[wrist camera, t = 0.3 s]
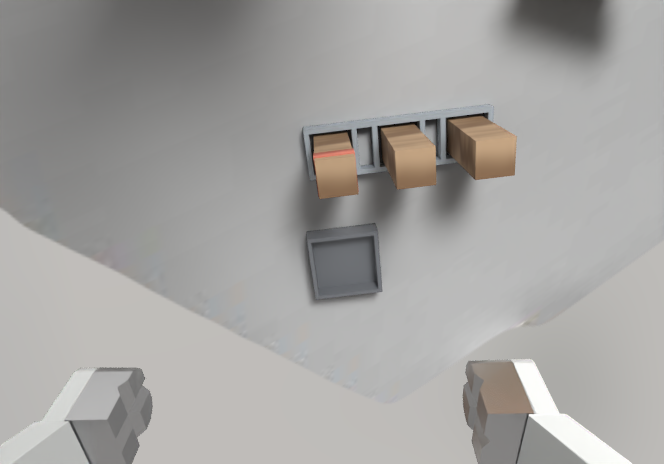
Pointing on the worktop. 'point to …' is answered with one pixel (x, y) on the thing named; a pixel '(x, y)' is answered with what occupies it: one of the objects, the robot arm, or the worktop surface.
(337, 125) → the holder
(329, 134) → the block
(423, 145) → the plain cartridge
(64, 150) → the worktop surface
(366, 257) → the tray
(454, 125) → the plain cartridge
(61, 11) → the worktop surface
